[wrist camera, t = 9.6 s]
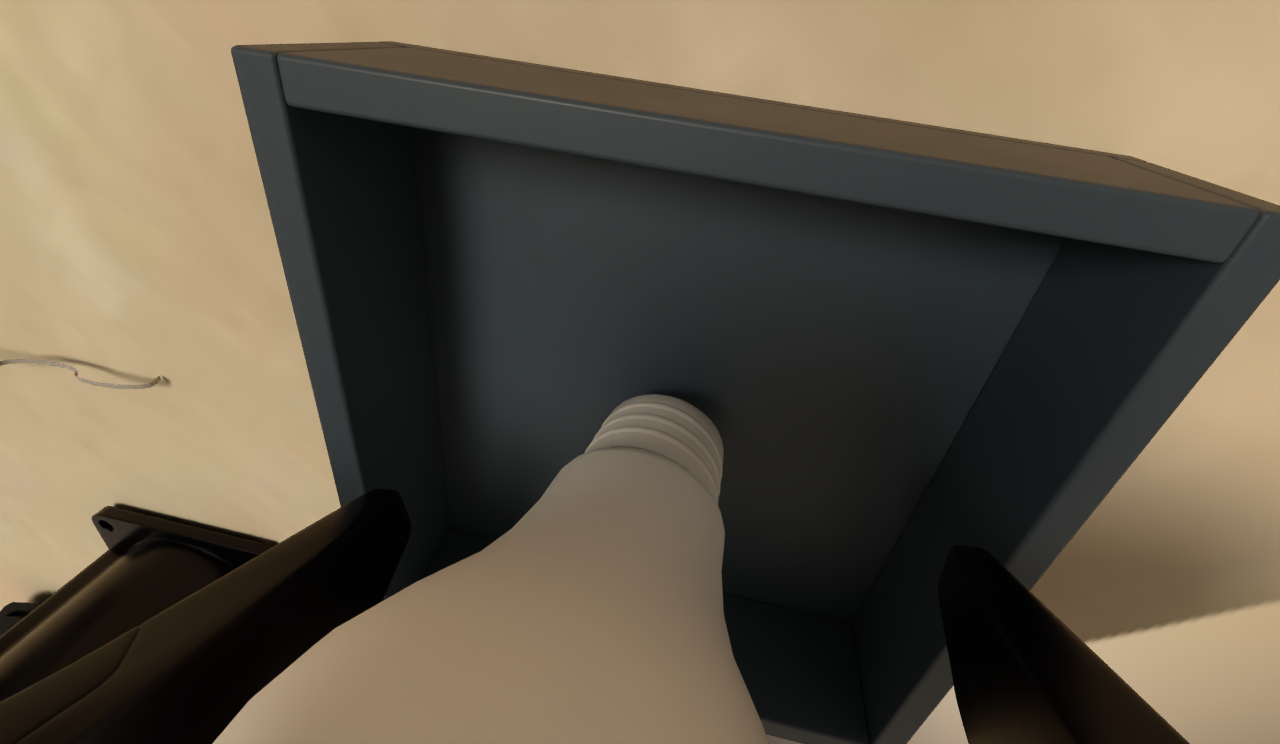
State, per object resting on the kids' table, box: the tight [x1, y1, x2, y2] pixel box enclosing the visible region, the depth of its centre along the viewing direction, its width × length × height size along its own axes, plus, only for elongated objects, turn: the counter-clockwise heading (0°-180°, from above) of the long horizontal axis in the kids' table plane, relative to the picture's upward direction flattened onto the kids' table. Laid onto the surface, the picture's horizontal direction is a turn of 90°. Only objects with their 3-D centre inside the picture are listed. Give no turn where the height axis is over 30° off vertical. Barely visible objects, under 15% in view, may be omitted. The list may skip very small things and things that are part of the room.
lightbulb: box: [213, 394, 769, 744], centre depth 7 cm, size 6×6×11 cm
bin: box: [231, 41, 1280, 744], centre depth 11 cm, size 12×12×4 cm
